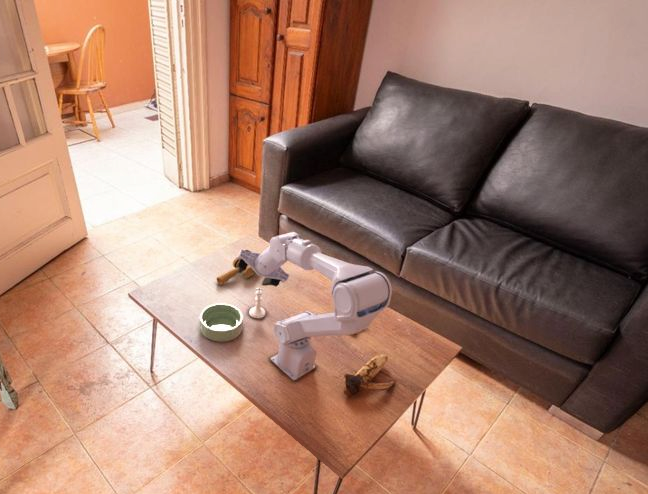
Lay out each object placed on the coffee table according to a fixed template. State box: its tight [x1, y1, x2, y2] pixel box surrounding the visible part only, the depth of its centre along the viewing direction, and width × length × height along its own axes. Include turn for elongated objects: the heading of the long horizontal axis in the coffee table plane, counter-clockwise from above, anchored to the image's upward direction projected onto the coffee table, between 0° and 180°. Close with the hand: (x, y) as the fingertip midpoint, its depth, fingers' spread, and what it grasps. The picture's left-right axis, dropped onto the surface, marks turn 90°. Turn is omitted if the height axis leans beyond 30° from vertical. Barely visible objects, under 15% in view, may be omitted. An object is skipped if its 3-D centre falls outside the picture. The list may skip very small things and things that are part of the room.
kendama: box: [216, 257, 255, 286], centre depth 144 cm, size 8×6×18 cm
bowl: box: [199, 302, 244, 342], centre depth 124 cm, size 12×12×4 cm
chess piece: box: [248, 286, 266, 319], centre depth 127 cm, size 5×5×10 cm
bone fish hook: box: [343, 353, 395, 398], centre depth 109 cm, size 9×5×18 cm
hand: (252, 276), depth 121 cm, fingers open, 7 cm apart
